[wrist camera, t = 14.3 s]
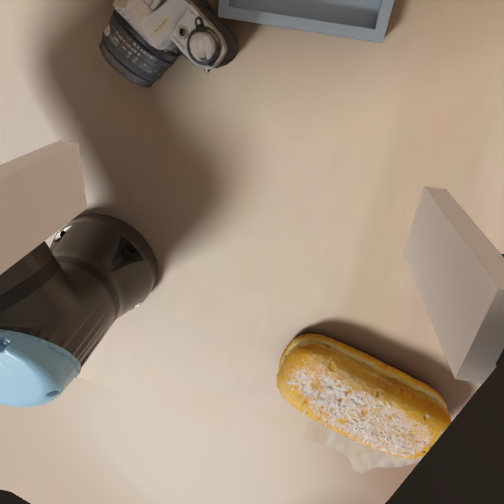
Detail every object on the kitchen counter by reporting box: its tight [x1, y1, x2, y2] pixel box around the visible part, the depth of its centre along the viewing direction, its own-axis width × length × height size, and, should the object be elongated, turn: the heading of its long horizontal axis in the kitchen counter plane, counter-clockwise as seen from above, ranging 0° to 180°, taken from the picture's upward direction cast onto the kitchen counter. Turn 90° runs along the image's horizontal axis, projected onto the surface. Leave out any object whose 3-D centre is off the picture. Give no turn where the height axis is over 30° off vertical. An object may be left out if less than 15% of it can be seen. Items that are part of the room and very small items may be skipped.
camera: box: [99, 0, 239, 87], centre depth 38 cm, size 16×10×10 cm, turn 47°
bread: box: [277, 333, 451, 459], centre depth 59 cm, size 13×26×8 cm, turn 68°
